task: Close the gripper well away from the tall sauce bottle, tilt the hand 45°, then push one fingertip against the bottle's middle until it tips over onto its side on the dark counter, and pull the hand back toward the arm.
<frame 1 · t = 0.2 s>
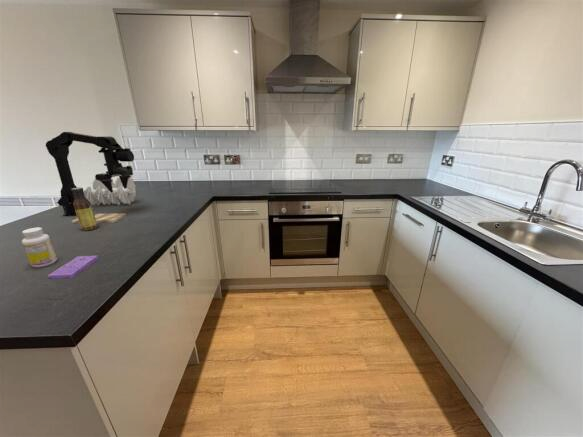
hand: (118, 190, 132), 14 cm above the worktop, tool pointing down, fingers open, 9 cm apart
sponges: (76, 269, 83), on the worktop
beech cutting board: (100, 219, 128), on the worktop
sauce bottle: (89, 229, 116), on the worktop
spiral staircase: (115, 204, 155), on the worktop
supplement bottle: (45, 263, 85), on the worktop
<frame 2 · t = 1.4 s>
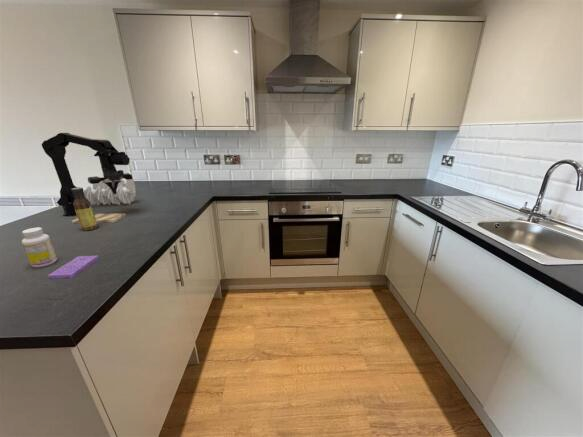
hand: (114, 193, 131), 12 cm above the worktop, tool pointing down, fingers closed
nothing on the worktop moved.
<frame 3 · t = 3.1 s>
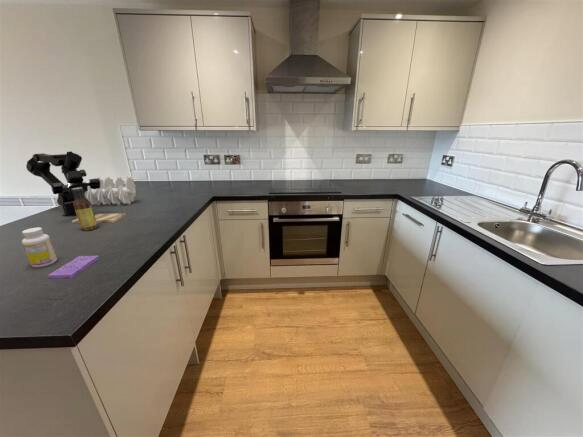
hand: (83, 199, 120), 12 cm above the worktop, tool tilted 45°, fingers closed
nothing on the worktop moved.
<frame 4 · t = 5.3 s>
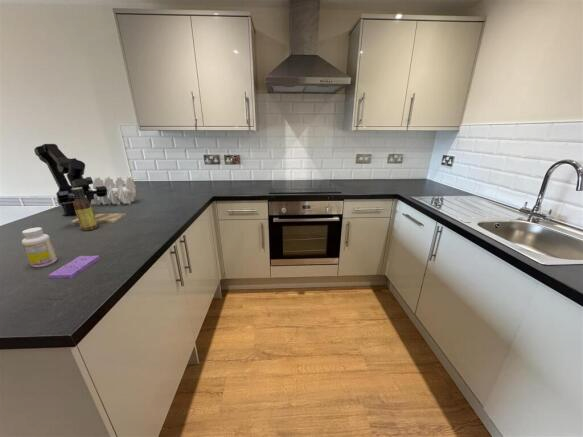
hand: (89, 208, 115), 9 cm above the worktop, tool tilted 45°, fingers closed
sauce bottle: (89, 228, 116), on the worktop, touching gripper
everything else where it was.
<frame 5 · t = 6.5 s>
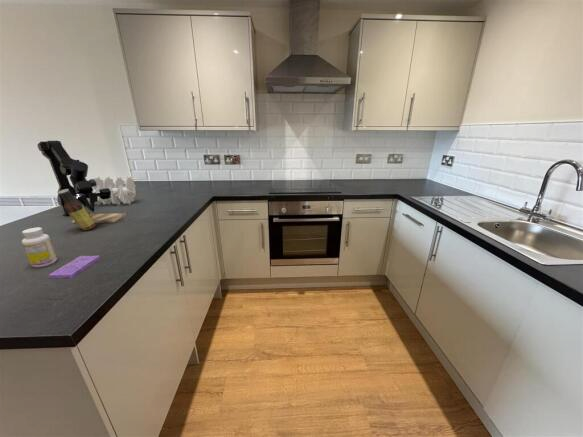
hand: (93, 211, 112), 9 cm above the worktop, tool tilted 45°, fingers closed
sauce bottle: (89, 227, 115), point 1 cm above the worktop
everything else where it was.
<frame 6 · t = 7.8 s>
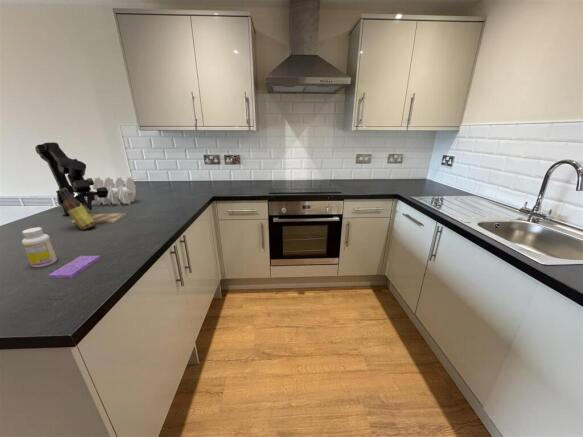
hand: (90, 209, 115), 9 cm above the worktop, tool tilted 45°, fingers closed
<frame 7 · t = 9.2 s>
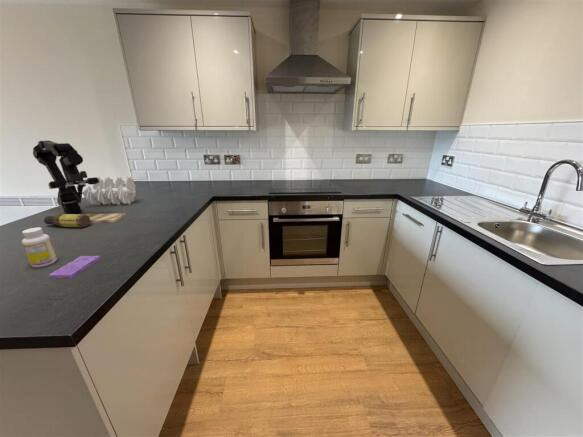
hand: (80, 199, 122), 11 cm above the worktop, tool tilted 15°, fingers closed
sauce bottle: (85, 221, 116), point 3 cm above the worktop
everything else where it was.
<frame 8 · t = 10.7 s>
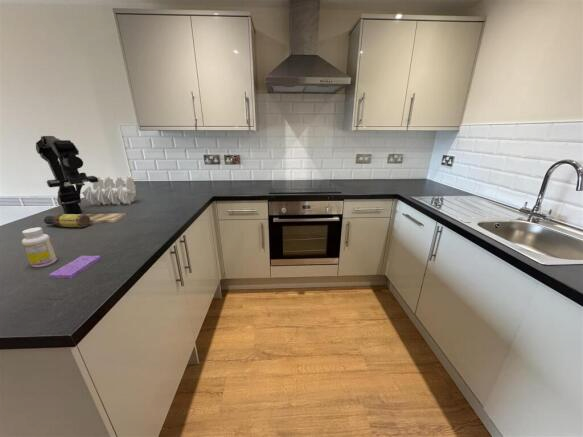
hand: (78, 197, 123), 12 cm above the worktop, tool pointing down, fingers closed
nothing on the worktop moved.
at the end: sauce bottle tilted 89°; sauce bottle inside the target area (10.9 cm from its centre), point 3.0 cm above the worktop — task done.
